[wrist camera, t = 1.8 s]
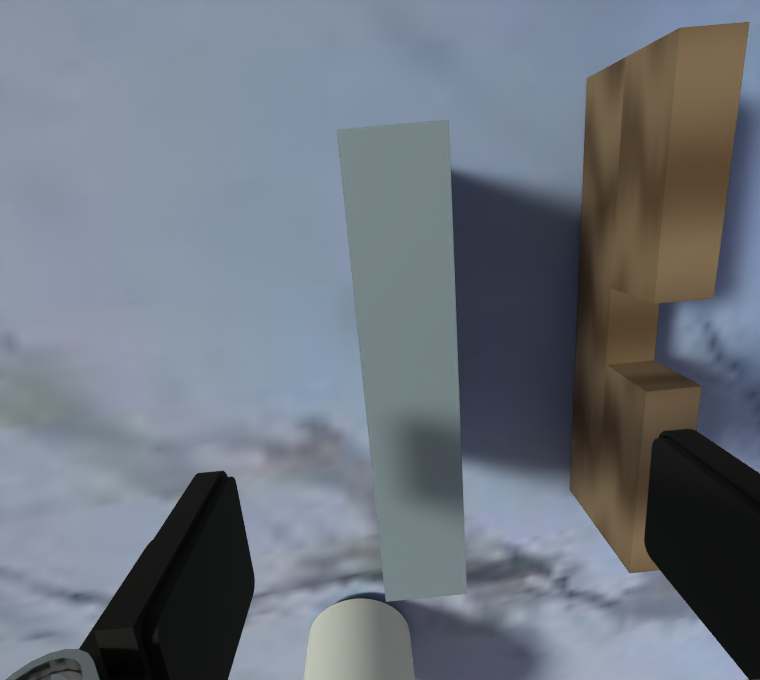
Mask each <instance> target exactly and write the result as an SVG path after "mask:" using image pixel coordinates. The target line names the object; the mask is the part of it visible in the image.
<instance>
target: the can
mask: <svg viewBox="0 0 760 680" xmlns="http://www.w3.org/2000/svg"><path fill="white" fill-rule="evenodd" d="M304 680H415V675H414V666H413V657H412V648H411V639H410V631H409V627H408V624H407V622H406V620H405V619H404V617H403V616H402V615H401V614H400V613H399V612H398V611H397V610H396V609H394V608H393V607H391V606H389V605H388V604H385V603H383V602H380V601H377V600H372V599H350V600H346V601H342V602H339V603H336V604H334V605H332V606H330V607H329V608H327V609H326V610H324V611H323V612H322V613H321V614H320V615H319V616H318V617H317V618H316V620H315V621H314V623H313V625H312V627H311V629H310V633H309V642H308V650H307V658H306V666H305V675H304Z"/></svg>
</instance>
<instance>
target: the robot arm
mask: <svg viewBox="0 0 760 680" xmlns="http://www.w3.org/2000/svg"><path fill="white" fill-rule="evenodd" d="M644 543H645V548H646V551H647V553H648V555H649V557H650V558H651V560H652V561H653V562H654V563H655V564H656V566H657V567H658V568H659V569H660V571H661V572H662V573H663V574H664V576H665V577H666V578H667V579H668V580H669V582H670V583H671V584H672V585H673V587H674V588H675V589H676V590H677V591H678V593H679V594H680V595H681V596H682V598H683V599H684V600H685V601H686V603H687V604H688V605H689V606H690V607H691V609H692V610H693V611H694V612H695V614H696V615H697V616H698V617H699V619H700V620H701V621H702V622H703V623H704V625H705V626H706V627H707V628H708V630H709V631H710V632H711V633H712V634H713V636H714V637H715V638H716V639H717V641H718V642H719V643H720V644H721V646H722V647H723V648H724V649H725V650H726V652H727V653H728V654H729V655H730V657H731V658H732V659H733V660H734V661H735V663H736V664H737V665H738V666H739V668H740V669H741V670H742V671H743V673H744V674H745V675H746V676H747V677H748V679H749V680H760V474H759V473H758V472H757V471H755V470H754V469H752V468H751V467H749V466H748V465H746V464H745V463H743V462H742V461H740V460H739V459H737V458H736V457H734V456H733V455H731V454H730V453H728V452H727V451H725V450H724V449H722V448H721V447H719V446H718V445H716V444H715V443H713V442H712V441H710V440H709V439H707V438H706V437H704V436H703V435H701V434H700V433H698V432H697V431H695V430H693V429H680V430H669V431H663V432H661V433H660V435H659V438H656V439H654V441H653V443H652V451H651V463H650V475H649V487H648V499H647V511H646V523H645V535H644ZM254 584H255V581H254V572H253V567H252V562H251V557H250V551H249V546H248V541H247V536H246V531H245V526H244V521H243V516H242V511H241V506H240V500H239V495H238V490H237V485H236V481H235V479H234V477H227V474H226V473H225V472H224V471H216V472H205V473H197V474H196V475H195V477H194V478H193V480H192V481H191V483H190V484H189V486H188V487H187V489H186V490H185V492H184V493H183V495H182V496H181V498H180V500H179V501H178V503H177V504H176V506H175V507H174V509H173V510H172V512H171V513H170V515H169V516H168V518H167V519H166V521H165V523H164V524H163V526H162V527H161V529H160V530H159V532H158V533H157V535H156V536H155V538H154V539H153V540H152V541H151V542H150V543H149V544H148V545H147V547H146V548H145V550H144V551H143V553H142V554H141V556H140V557H139V559H138V560H137V562H136V563H135V565H134V566H133V568H132V569H131V571H130V573H129V574H128V576H127V577H126V579H125V580H124V582H123V583H122V585H121V586H120V588H119V589H118V591H117V592H116V594H115V595H114V597H113V598H112V600H111V601H110V603H109V604H108V606H107V607H106V609H105V610H104V612H103V614H102V615H101V617H100V618H99V620H98V621H97V623H96V624H95V626H94V627H93V629H92V630H91V632H90V633H89V635H88V636H87V638H86V639H85V641H84V642H83V644H82V645H81V647H80V648H79V649H64V650H60V651H56V652H53V653H49V654H47V655H44V656H42V657H40V658H38V659H36V660H34V661H32V662H30V663H28V664H27V665H25V666H24V667H22V668H21V669H19V670H18V671H16V672H14V673H13V674H12V675H11V676H9V677H8V678H7V679H6V680H228V677H229V674H230V670H231V667H232V664H233V660H234V657H235V654H236V650H237V647H238V643H239V640H240V637H241V633H242V630H243V627H244V623H245V620H246V617H247V613H248V610H249V607H250V603H251V600H252V597H253V593H254Z"/></svg>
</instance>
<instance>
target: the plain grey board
mask: <svg viewBox="0 0 760 680" xmlns="http://www.w3.org/2000/svg"><path fill="white" fill-rule="evenodd" d="M337 137H338V146H339V156H340V166H341V175H342V185H343V194H344V204H345V214H346V223H347V233H348V243H349V252H350V262H351V271H352V281H353V291H354V300H355V310H356V320H357V329H358V339H359V348H360V358H361V368H362V377H363V387H364V396H365V406H366V416H367V425H368V435H369V445H370V454H371V464H372V473H373V483H374V493H375V502H376V512H377V522H378V531H379V541H380V550H381V560H382V570H383V579H384V589H385V599H386V602H388V601H398V600H408V599H419V598H429V597H439V596H449V595H459V594H467V586H466V560H465V533H464V507H463V481H462V454H461V428H460V402H459V375H458V349H457V323H456V296H455V270H454V243H453V217H452V191H451V164H450V138H449V120H441V121H430V122H418V123H407V124H395V125H384V126H373V127H361V128H350V129H339V130H337Z"/></svg>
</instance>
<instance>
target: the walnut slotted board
mask: <svg viewBox="0 0 760 680" xmlns="http://www.w3.org/2000/svg"><path fill="white" fill-rule="evenodd" d="M748 30H749V22H743V23H731V24H719V25H708V26H696V27H685V28H679V29H677V30H675V31H673V32H671V33H669V34H668V35H666V36H664V37H662V38H660V39H658V40H657V41H655V42H653V43H651V44H649V45H647V46H646V47H644V48H642V49H640V50H638V51H636V52H634V53H633V54H631V55H629V56H627V57H625V58H623V59H622V60H620V61H618V62H616V63H614V64H612V65H611V66H609V67H607V68H605V69H603V70H601V71H599V72H598V73H596V74H594V75H592V76H590V77H588V78H587V92H586V116H585V140H584V164H583V188H582V212H581V236H580V260H579V284H578V308H577V332H576V356H575V379H574V403H573V427H572V451H571V475H570V491H571V492H572V494H573V495H574V496H575V498H576V499H577V501H578V502H579V503H580V505H581V506H582V507H583V509H584V510H585V512H586V513H587V514H588V516H589V517H590V519H591V520H592V521H593V523H594V524H595V526H596V527H597V528H598V530H599V531H600V533H601V534H602V535H603V537H604V538H605V540H606V541H607V542H608V544H609V545H610V546H611V548H612V549H613V551H614V552H615V553H616V555H617V556H618V558H619V559H620V560H621V562H622V563H623V565H624V566H625V567H626V569H627V570H628V572H629V573H636V572H646V571H656V570H660V569H659V568H658V567H657V566H656V564H655V563H654V562H653V561H652V560H651V558H650V557H649V555H648V553H647V551H646V548H645V543H644V535H645V523H646V511H647V499H648V487H649V475H650V463H651V451H652V443H653V441H654V439H656V438H659V435H660V433H661V432H663V431H669V430H680V429H693V430H695V431H696V429H697V422H698V414H699V406H700V399H701V391H702V386H700V385H698V384H697V383H695V382H693V381H691V380H689V379H687V378H686V377H684V376H682V375H680V374H678V373H677V372H675V371H673V370H671V369H669V368H667V367H666V366H664V365H662V364H660V363H658V362H656V361H655V360H654V356H655V346H656V335H657V325H658V314H659V304H660V303H667V302H678V301H689V300H700V299H711V298H714V291H715V283H716V276H717V268H718V260H719V253H720V245H721V237H722V230H723V222H724V214H725V207H726V199H727V191H728V183H729V176H730V168H731V160H732V153H733V145H734V137H735V130H736V122H737V114H738V107H739V99H740V91H741V84H742V76H743V68H744V61H745V53H746V45H747V38H748Z"/></svg>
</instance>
